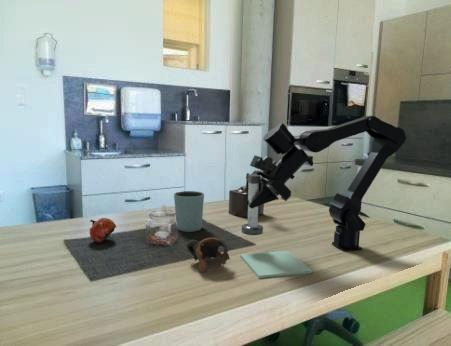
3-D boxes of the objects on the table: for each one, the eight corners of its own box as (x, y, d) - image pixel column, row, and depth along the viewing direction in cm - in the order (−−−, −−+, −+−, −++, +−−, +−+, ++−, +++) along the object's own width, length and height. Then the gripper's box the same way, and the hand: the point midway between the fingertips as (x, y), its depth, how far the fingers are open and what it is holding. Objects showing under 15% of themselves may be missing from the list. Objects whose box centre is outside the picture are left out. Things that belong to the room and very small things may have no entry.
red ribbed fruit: (118, 245, 110) (96, 223, 111) (128, 229, 107) (106, 207, 108) (101, 255, 103) (78, 232, 105) (112, 239, 100) (88, 215, 102)
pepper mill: (226, 213, 144) (227, 169, 141) (245, 209, 151) (246, 167, 149) (255, 221, 133) (257, 173, 130) (274, 217, 140) (276, 171, 138)
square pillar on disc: (259, 228, 103) (261, 173, 101) (265, 234, 98) (268, 176, 95) (239, 229, 102) (240, 173, 100) (244, 235, 96) (246, 177, 94)
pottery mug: (234, 262, 94) (236, 242, 89) (217, 290, 87) (219, 269, 82) (194, 245, 98) (195, 224, 93) (175, 270, 91) (175, 249, 86)
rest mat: (287, 252, 101) (287, 250, 101) (312, 272, 88) (312, 270, 87) (240, 256, 97) (240, 254, 97) (258, 278, 84) (258, 275, 84)
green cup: (207, 231, 119) (208, 195, 118) (177, 233, 116) (178, 197, 114) (198, 223, 129) (198, 190, 127) (170, 225, 125) (170, 191, 123)
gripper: (258, 143, 106) (221, 180, 106) (281, 147, 88) (237, 192, 88) (282, 169, 109) (246, 205, 108) (309, 178, 91) (266, 222, 90)
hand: (248, 206), depth 99 cm, fingers closed on square pillar on disc, 3 cm apart
